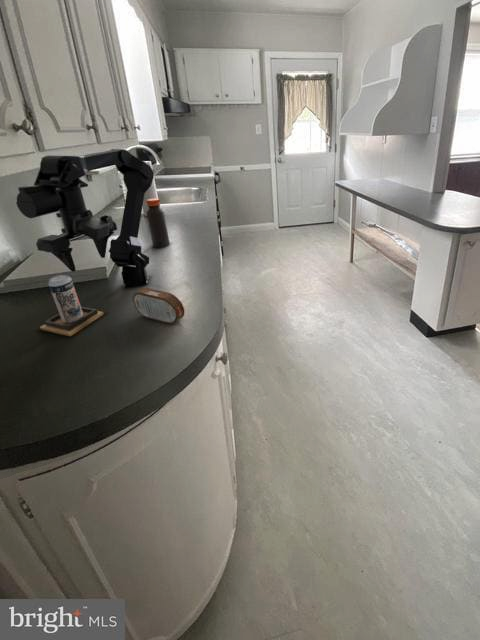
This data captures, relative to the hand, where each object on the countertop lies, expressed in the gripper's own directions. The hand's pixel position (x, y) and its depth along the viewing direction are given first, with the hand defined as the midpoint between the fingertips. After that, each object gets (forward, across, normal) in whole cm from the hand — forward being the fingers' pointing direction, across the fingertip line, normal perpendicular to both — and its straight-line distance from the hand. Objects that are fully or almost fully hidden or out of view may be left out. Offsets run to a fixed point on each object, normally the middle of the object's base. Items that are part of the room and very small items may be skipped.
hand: (89, 264), depth 82 cm
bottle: (+13, +46, +16) cm, 51 cm away
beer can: (+12, -8, 0) cm, 15 cm away
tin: (+13, -1, -21) cm, 25 cm away
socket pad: (+13, -9, 0) cm, 16 cm away
